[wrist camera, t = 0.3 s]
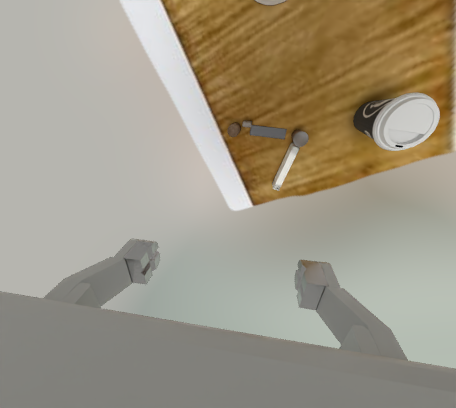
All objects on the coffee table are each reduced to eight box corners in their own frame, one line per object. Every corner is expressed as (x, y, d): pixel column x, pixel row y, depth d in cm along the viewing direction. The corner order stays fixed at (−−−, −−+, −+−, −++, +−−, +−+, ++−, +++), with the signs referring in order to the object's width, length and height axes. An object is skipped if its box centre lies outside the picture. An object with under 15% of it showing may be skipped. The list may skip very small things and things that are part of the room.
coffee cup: (337, 124, 48) (365, 135, 35) (369, 84, 43) (416, 79, 30) (367, 145, 49) (406, 163, 36) (402, 108, 44) (461, 113, 31)
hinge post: (292, 127, 50) (295, 130, 45) (305, 129, 49) (310, 132, 45) (288, 141, 51) (291, 145, 47) (302, 143, 51) (305, 147, 47)
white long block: (291, 142, 51) (293, 146, 47) (297, 144, 51) (299, 148, 47) (272, 183, 57) (272, 188, 53) (277, 185, 57) (278, 190, 53)
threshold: (251, 125, 51) (251, 125, 51) (286, 129, 50) (286, 129, 50) (249, 134, 52) (249, 134, 52) (284, 138, 51) (284, 139, 51)
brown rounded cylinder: (231, 118, 51) (228, 120, 47) (251, 121, 50) (250, 123, 46) (229, 133, 53) (227, 136, 48) (249, 135, 52) (248, 138, 48)
